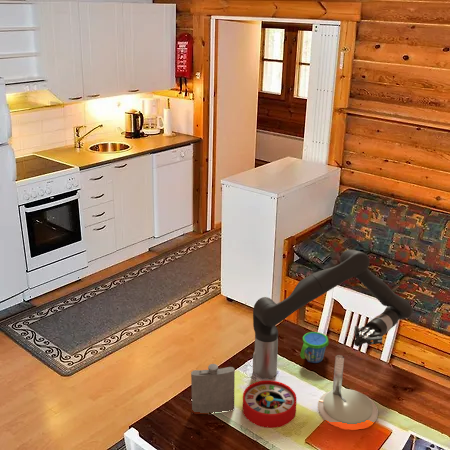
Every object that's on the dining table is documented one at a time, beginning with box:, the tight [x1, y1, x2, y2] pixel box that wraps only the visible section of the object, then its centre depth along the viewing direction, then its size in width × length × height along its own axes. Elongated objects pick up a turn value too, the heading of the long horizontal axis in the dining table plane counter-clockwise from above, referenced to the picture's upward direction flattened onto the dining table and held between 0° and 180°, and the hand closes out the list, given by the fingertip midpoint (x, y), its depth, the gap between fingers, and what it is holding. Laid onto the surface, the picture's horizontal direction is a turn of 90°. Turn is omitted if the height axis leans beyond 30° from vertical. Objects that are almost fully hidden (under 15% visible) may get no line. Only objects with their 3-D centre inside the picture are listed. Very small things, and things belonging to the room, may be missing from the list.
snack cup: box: [299, 331, 330, 364], centre depth 243 cm, size 16×10×10 cm
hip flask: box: [190, 363, 236, 413], centre depth 210 cm, size 16×4×20 cm, turn 99°
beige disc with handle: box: [323, 354, 373, 424], centre depth 210 cm, size 18×18×17 cm
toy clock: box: [242, 379, 297, 429], centre depth 214 cm, size 20×6×20 cm
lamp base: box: [317, 389, 379, 423], centre depth 214 cm, size 22×22×1 cm
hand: (356, 343), depth 221 cm, fingers closed
